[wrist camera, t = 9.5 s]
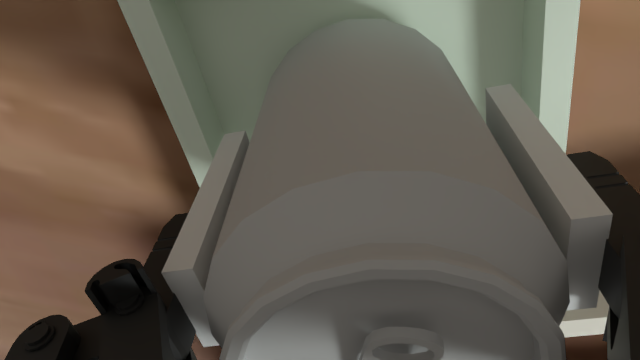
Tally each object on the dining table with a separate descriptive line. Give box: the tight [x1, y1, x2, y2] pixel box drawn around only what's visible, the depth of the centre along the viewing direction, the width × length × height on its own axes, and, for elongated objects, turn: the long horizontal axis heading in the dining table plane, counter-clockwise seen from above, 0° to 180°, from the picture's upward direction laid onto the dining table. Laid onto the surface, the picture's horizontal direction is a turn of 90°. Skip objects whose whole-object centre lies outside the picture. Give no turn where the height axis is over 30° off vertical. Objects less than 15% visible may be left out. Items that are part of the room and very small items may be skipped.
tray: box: [117, 0, 580, 187], centre depth 18 cm, size 14×14×3 cm
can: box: [203, 19, 570, 360], centre depth 13 cm, size 8×8×12 cm
